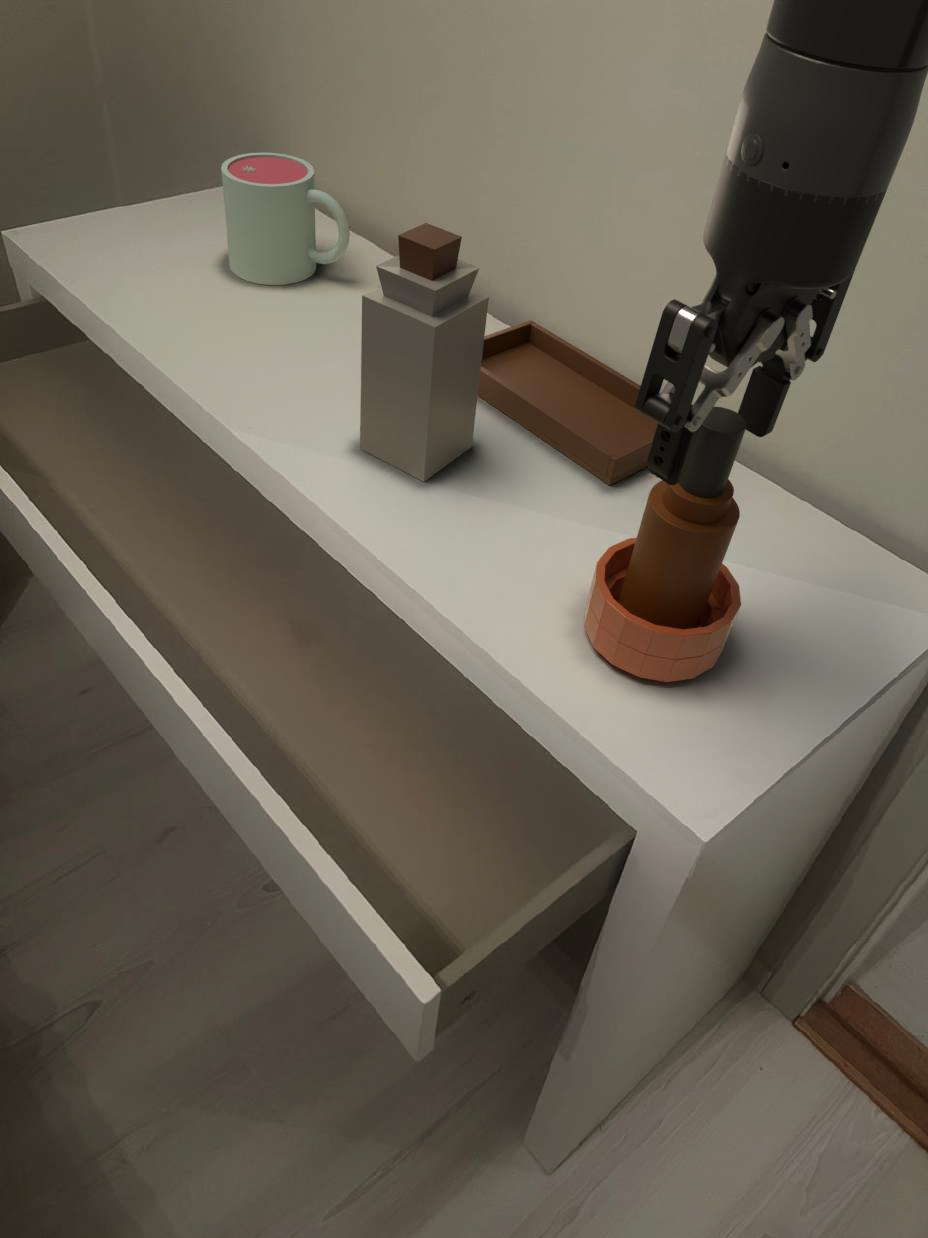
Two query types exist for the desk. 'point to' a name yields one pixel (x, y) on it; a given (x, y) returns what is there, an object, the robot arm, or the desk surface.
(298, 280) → the mug
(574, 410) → the tray
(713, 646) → the bowl
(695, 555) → the bottle
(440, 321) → the perfume bottle
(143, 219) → the desk surface
